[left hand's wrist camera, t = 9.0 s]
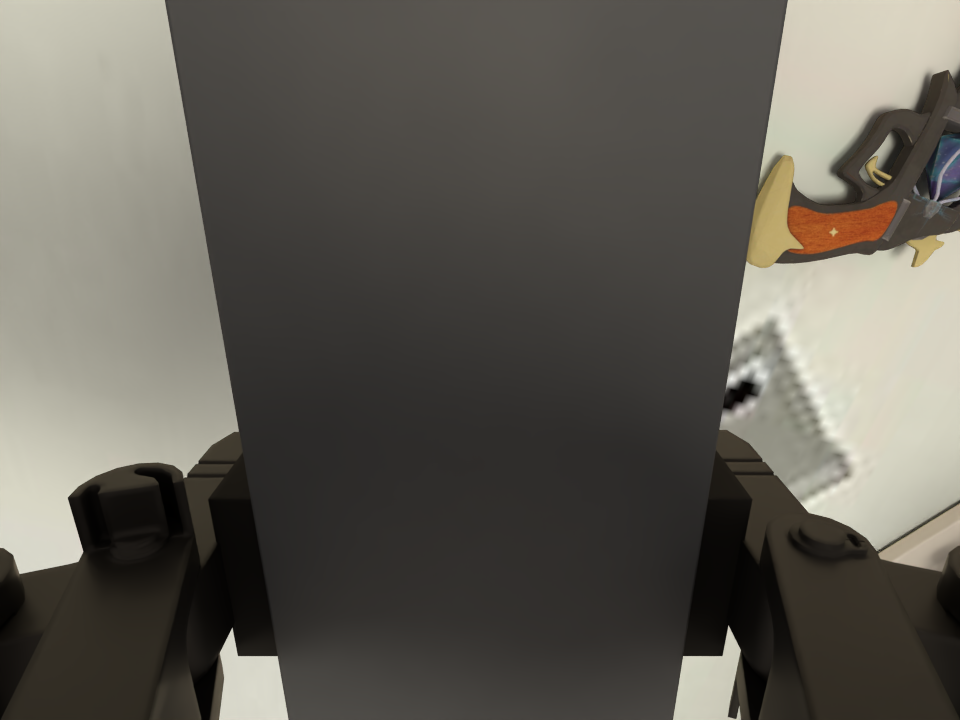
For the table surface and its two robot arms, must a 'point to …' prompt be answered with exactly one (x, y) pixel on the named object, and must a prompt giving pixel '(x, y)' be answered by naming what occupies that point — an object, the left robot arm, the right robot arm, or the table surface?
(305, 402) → the post
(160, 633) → the left robot arm
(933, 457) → the table surface
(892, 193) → the toy gun
